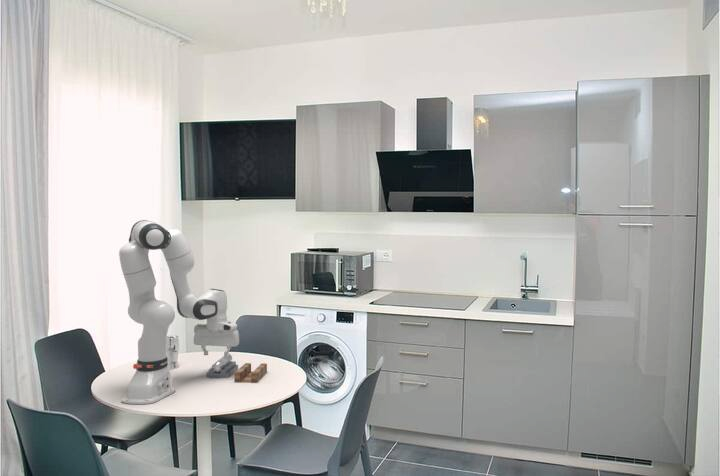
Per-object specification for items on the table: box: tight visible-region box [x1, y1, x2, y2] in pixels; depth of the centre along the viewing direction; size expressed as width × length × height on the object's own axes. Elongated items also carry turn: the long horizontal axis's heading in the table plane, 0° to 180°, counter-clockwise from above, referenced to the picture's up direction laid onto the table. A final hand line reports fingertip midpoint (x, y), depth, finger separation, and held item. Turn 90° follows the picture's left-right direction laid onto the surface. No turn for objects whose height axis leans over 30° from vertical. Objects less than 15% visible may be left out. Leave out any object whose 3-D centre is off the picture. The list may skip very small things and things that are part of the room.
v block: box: [206, 360, 239, 379], centre depth 259 cm, size 14×10×4 cm
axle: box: [211, 353, 233, 372], centre depth 258 cm, size 16×4×4 cm, turn 174°
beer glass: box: [166, 334, 180, 370], centre depth 272 cm, size 7×7×15 cm
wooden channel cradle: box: [233, 362, 268, 384], centre depth 252 cm, size 16×10×5 cm, turn 174°
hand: (216, 355), depth 253 cm, fingers open, 8 cm apart
